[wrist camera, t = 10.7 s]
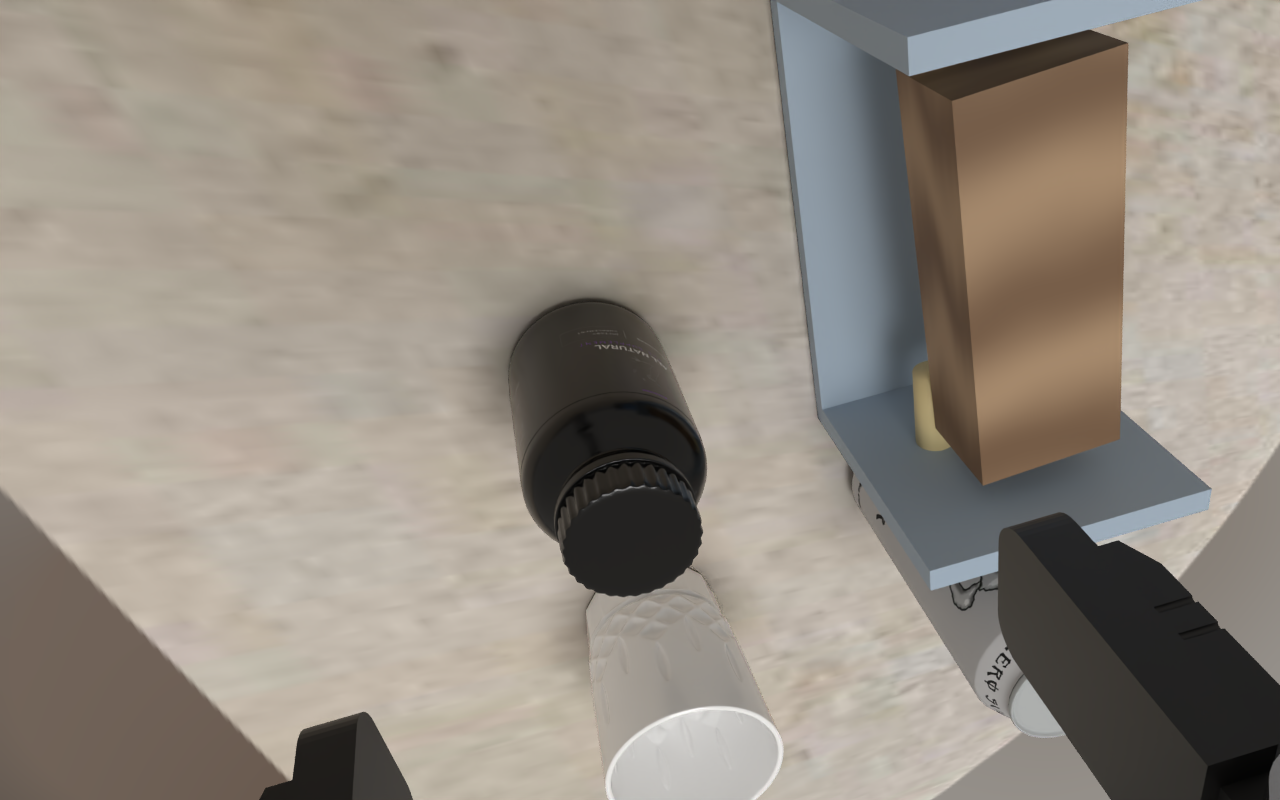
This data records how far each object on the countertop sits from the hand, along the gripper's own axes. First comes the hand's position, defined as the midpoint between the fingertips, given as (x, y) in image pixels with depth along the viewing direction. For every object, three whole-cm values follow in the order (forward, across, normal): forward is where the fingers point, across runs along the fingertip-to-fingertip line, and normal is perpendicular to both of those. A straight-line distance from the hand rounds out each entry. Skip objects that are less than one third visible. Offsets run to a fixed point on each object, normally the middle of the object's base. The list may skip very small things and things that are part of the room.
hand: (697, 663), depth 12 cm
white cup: (+28, 0, +27) cm, 39 cm away
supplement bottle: (+28, 0, +12) cm, 31 cm away
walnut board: (+22, -15, +8) cm, 28 cm away
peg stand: (+28, -16, +8) cm, 33 cm away
